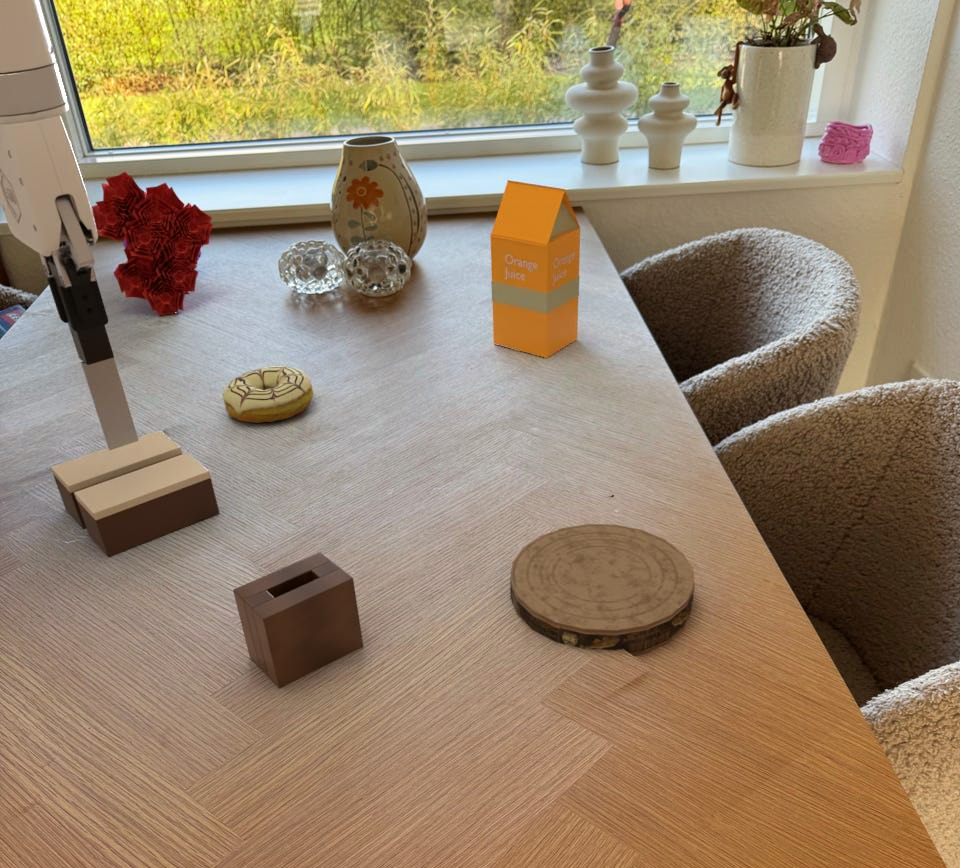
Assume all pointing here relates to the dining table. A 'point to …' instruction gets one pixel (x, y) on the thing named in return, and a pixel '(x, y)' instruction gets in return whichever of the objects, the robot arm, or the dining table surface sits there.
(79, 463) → the cake
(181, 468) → the cake slice
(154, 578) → the dining table surface
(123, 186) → the bouquet
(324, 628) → the knife block
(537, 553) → the wood slice coaster
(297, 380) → the decorated donut
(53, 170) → the robot arm
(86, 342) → the knife
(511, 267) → the orange juice
